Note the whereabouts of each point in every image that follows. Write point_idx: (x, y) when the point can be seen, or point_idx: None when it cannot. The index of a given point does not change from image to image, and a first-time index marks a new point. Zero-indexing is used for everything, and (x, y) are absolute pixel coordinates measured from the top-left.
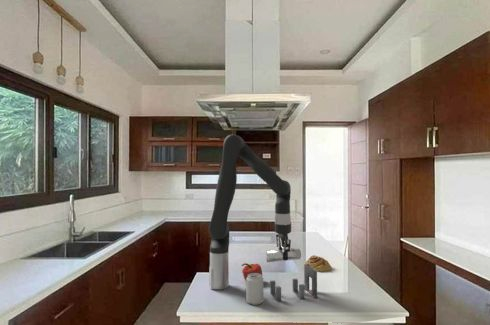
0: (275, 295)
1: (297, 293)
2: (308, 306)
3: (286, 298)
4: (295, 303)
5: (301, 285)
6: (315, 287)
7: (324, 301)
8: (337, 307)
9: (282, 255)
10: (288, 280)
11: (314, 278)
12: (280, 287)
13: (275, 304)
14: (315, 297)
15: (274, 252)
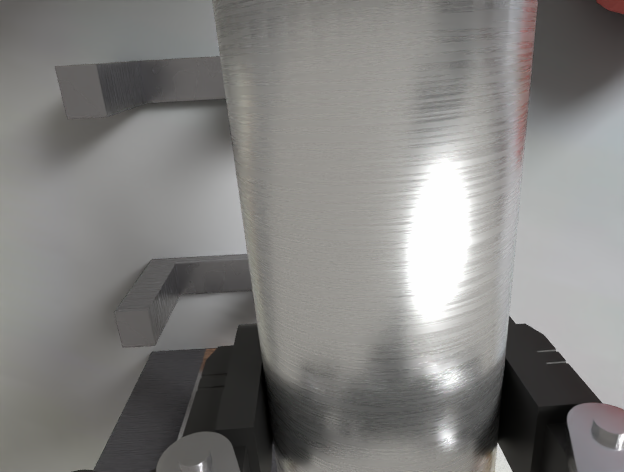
0: (209, 77)
1: (230, 268)
2: (17, 271)
3: (177, 162)
4: (72, 201)
5: (120, 323)
6: (125, 410)
7: (104, 388)
8: (7, 422)
9: (264, 363)
10: (563, 288)
11: (105, 465)
12: (68, 112)
13: (51, 32)
14: (150, 359)
15: (293, 214)
